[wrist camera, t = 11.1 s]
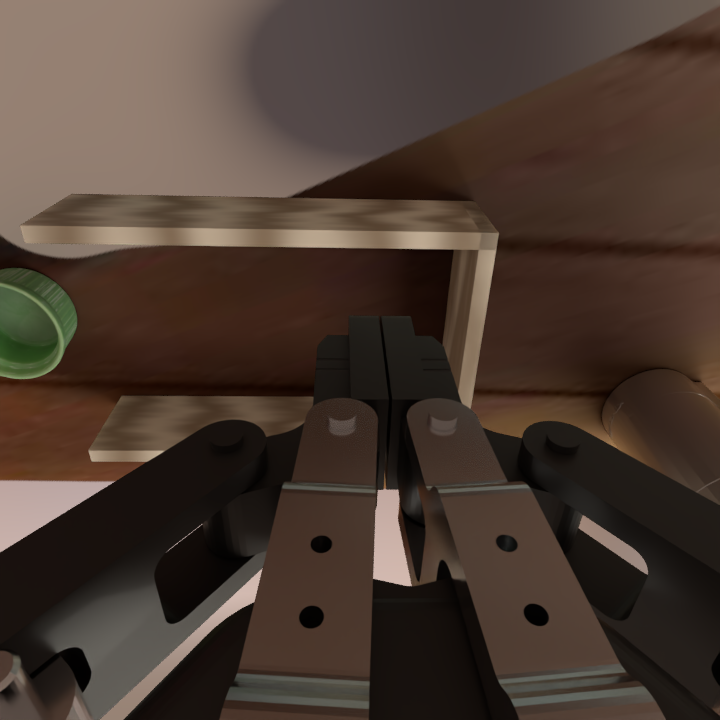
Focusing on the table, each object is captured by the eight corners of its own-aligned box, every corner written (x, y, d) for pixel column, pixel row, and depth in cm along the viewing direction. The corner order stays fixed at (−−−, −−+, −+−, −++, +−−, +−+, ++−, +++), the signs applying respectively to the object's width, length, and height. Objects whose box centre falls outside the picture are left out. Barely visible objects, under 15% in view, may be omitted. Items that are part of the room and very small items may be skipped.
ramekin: (44, 370, 51) (20, 397, 47) (-46, 301, 47) (-80, 325, 43) (106, 316, 48) (85, 341, 44) (16, 239, 44) (-14, 258, 40)
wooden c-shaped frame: (474, 201, 44) (498, 233, 37) (446, 407, 54) (462, 461, 47) (71, 193, 42) (19, 225, 36) (124, 405, 53) (91, 461, 46)
